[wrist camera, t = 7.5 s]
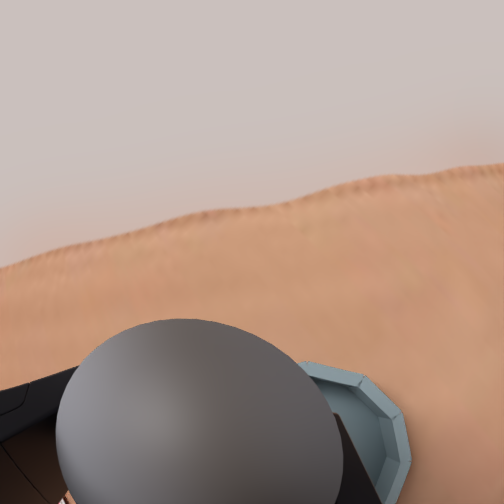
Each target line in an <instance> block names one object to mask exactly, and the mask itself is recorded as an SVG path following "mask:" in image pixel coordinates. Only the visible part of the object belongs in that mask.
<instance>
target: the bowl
mask: <svg viewBox="0 0 504 504" xmlns="http://www.w3.org/2000/svg"><path fill="white" fill-rule="evenodd" d="M297 364H298V365H299V366H300V367H301V368H302V369H303V370H304V371H305V372H306V373H307V374H308V375H309V377H310V378H311V379H312V380H313V381H314V382H315V384H316V385H317V386H318V388H319V389H320V391H321V392H322V394H323V396H324V397H325V399H326V400H327V402H328V404H329V406H330V408H331V410H332V412H334V413H337V414H339V415H340V417H341V419H342V422H343V424H344V426H345V428H346V430H347V432H348V434H349V436H350V438H351V440H352V442H353V444H354V446H355V448H356V450H357V452H358V454H359V456H360V458H361V461H362V463H363V465H364V467H365V469H366V471H367V473H368V475H369V477H370V479H371V481H372V483H373V485H374V487H375V490H376V492H377V494H378V496H379V498H380V500H381V502H382V504H396V502H397V499H398V497H399V494H400V492H401V489H402V487H403V484H404V482H405V479H406V476H407V474H408V471H409V468H410V465H411V463H412V462H410V461H411V460H412V458H411V452H410V447H409V441H408V436H407V431H406V426H405V422H404V417H403V413H401V410H400V409H399V408H398V407H397V406H396V405H395V404H394V403H393V402H392V401H391V400H390V399H389V398H388V397H387V396H386V395H385V394H384V393H383V392H382V391H381V390H380V389H379V388H378V387H377V386H376V385H375V384H374V383H373V382H372V381H371V380H370V379H369V378H368V377H367V376H363V374H359V373H355V372H350V371H346V370H342V369H337V368H333V367H329V366H325V365H321V364H317V363H313V362H310V361H308V362H306V361H305V362H301V363H297Z"/></svg>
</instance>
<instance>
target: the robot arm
mask: <svg viewBox="0 0 504 504" xmlns="http://www.w3.org/2000/svg"><path fill="white" fill-rule="evenodd" d="M79 366H80V365H79ZM79 366H76V367H73V368H70V369H67V370H64V371H62V372H59V373H56V374H53V375H50V376H47V377H44V378H41V379H38V380H35V381H32V382H30V383H25V384H22V385H19V386H16V387H12V388H9V389H5V390H1V391H0V504H59V502H60V501H61V500H62V498H63V497H64V495H65V494H66V493H67V491H68V487H67V485H66V483H65V480H64V478H63V475H62V471H61V468H60V465H59V460H58V455H57V448H56V423H57V414H58V410H59V406H60V402H61V399H62V396H63V394H64V391H65V389H66V386H67V384H68V382H69V381H70V379H71V377H72V375H73V374H74V372H75V371H76V369H77V368H78V367H79ZM332 413H333V415H334V417H335V419H336V422H337V426H338V429H339V433H340V436H341V442H342V450H343V474H342V480H341V485H340V490H339V493H338V496H337V499H336V501H335V504H382V502H381V500H380V498H379V496H378V494H377V492H376V490H375V487H374V485H373V483H372V481H371V479H370V477H369V475H368V473H367V471H366V469H365V467H364V465H363V463H362V461H361V458H360V456H359V454H358V452H357V450H356V448H355V446H354V444H353V442H352V440H351V438H350V436H349V434H348V432H347V430H346V428H345V426H344V424H343V422H342V419H341V417H340V415H339V414H337V413H334V412H332Z"/></svg>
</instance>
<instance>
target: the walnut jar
mask: <svg viewBox="0 0 504 504" xmlns="http://www.w3.org/2000/svg"><path fill="white" fill-rule="evenodd" d="M56 448H57V455H58V460H59V465H60V468H61V471H62V475H63V478H64V480H65V483H66V485H67V487H68V490H69V492H70V494H71V496H72V497H73V499H74V501H75V502H76V504H335V501H336V499H337V496H338V493H339V490H340V485H341V480H342V474H343V450H342V442H341V436H340V433H339V429H338V426H337V422H336V419H335V417H334V415H333V413H332V410H331V408H330V406H329V404H328V402H327V400H326V399H325V397H324V396H323V394H322V392H321V391H320V389H319V388H318V386H317V385H316V384H315V382H314V381H313V380H312V379H311V378H310V377H309V375H308V374H307V373H306V372H305V371H304V370H303V369H302V368H301V367H300V366H299V365H298V364H297V363H296V362H294V361H293V360H292V359H291V358H290V357H289V356H288V355H286V354H285V353H283V352H282V351H281V350H279V349H278V348H276V347H275V346H273V345H272V344H270V343H268V342H266V341H265V340H263V339H261V338H259V337H257V336H255V335H253V334H251V333H248V332H246V331H243V330H241V329H238V328H236V327H232V326H229V325H225V324H221V323H217V322H212V321H205V320H198V319H169V320H159V321H154V322H150V323H145V324H141V325H138V326H136V327H133V328H130V329H127V330H125V331H123V332H121V333H119V334H117V335H115V336H113V337H111V338H110V339H108V340H107V341H105V342H104V343H103V344H101V345H100V346H98V347H97V348H96V349H95V350H94V351H93V352H92V353H90V354H89V355H88V356H87V357H86V358H85V359H84V360H83V362H82V363H81V364H80V366H79V367H78V368H77V369H76V371H75V372H74V374H73V375H72V377H71V379H70V381H69V382H68V384H67V386H66V389H65V391H64V394H63V396H62V399H61V402H60V406H59V410H58V414H57V423H56Z"/></svg>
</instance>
